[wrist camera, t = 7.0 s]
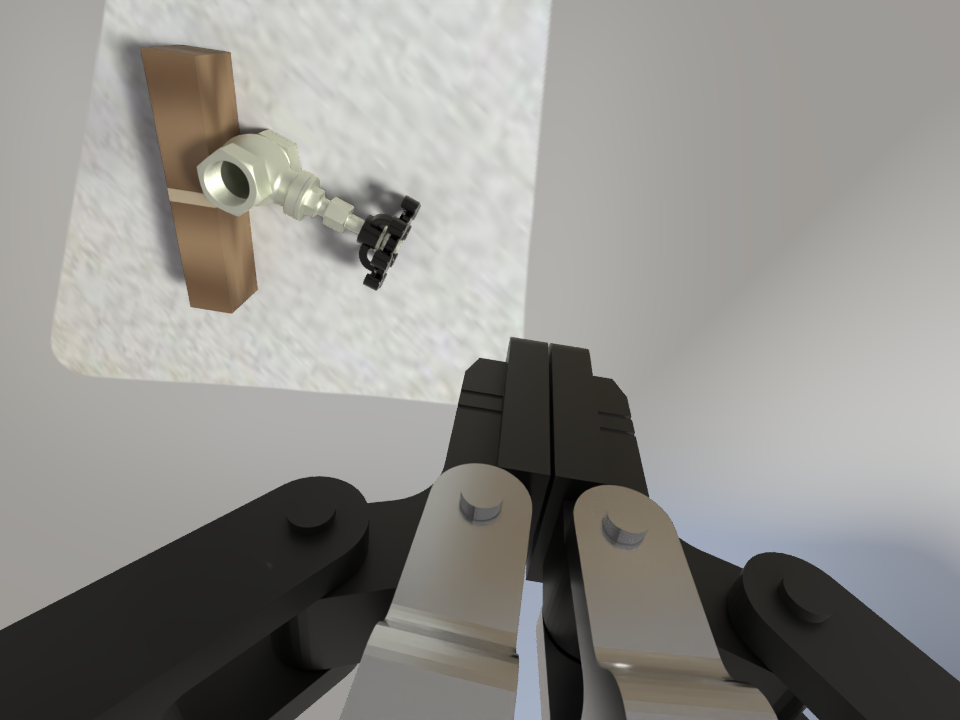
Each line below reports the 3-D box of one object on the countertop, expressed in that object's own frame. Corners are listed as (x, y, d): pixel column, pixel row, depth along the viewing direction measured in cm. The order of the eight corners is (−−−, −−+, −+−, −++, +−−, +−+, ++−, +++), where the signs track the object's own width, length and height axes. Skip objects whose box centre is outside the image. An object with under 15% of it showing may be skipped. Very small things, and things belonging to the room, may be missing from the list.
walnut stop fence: (182, 44, 32) (139, 47, 29) (230, 52, 32) (193, 55, 29) (219, 283, 41) (190, 307, 38) (257, 289, 41) (231, 313, 38)
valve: (235, 187, 37) (392, 268, 39) (181, 216, 31) (367, 309, 34) (259, 94, 34) (429, 189, 36) (203, 108, 28) (409, 219, 30)
